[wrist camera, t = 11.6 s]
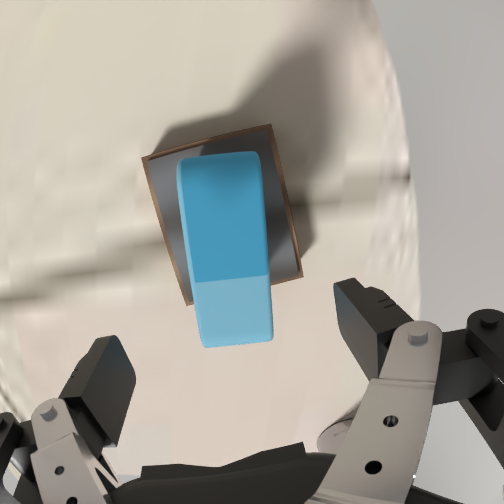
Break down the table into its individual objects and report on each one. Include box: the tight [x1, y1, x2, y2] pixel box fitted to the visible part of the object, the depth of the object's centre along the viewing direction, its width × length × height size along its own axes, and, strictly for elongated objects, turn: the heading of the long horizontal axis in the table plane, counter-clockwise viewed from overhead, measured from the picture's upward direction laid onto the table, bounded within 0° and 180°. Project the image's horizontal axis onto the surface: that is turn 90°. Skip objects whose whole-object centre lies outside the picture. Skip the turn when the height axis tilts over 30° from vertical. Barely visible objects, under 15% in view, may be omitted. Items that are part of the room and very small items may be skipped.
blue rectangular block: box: [177, 151, 273, 348], centre depth 24 cm, size 12×4×12 cm, turn 5°
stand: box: [141, 124, 304, 306], centre depth 31 cm, size 15×12×4 cm
